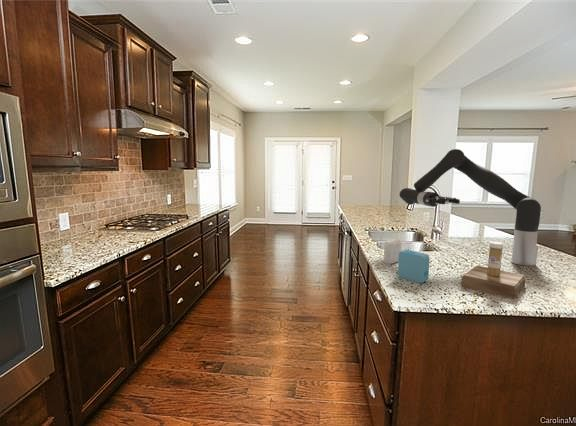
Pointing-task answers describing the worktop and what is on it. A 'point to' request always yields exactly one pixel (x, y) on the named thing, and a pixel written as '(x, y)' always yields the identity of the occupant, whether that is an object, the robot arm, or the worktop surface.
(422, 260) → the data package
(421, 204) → the robot arm
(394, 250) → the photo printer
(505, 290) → the walnut riser
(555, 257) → the worktop surface
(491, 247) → the sprinkles bottle
